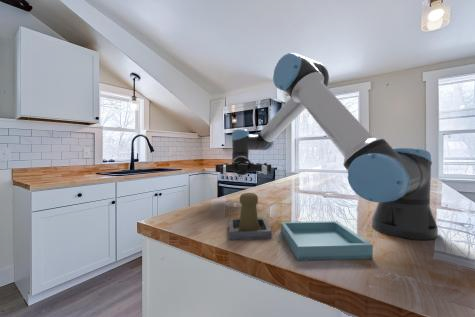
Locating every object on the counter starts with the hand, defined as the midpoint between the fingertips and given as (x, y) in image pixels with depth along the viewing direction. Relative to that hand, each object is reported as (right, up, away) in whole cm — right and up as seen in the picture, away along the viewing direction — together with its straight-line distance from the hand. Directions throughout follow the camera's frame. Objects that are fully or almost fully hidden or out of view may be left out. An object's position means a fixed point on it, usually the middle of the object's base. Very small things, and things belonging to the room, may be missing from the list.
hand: (245, 170), depth 74 cm
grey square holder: (+1, -17, -9) cm, 19 cm away
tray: (+18, -17, -18) cm, 31 cm away
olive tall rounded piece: (+1, -17, -9) cm, 20 cm away
